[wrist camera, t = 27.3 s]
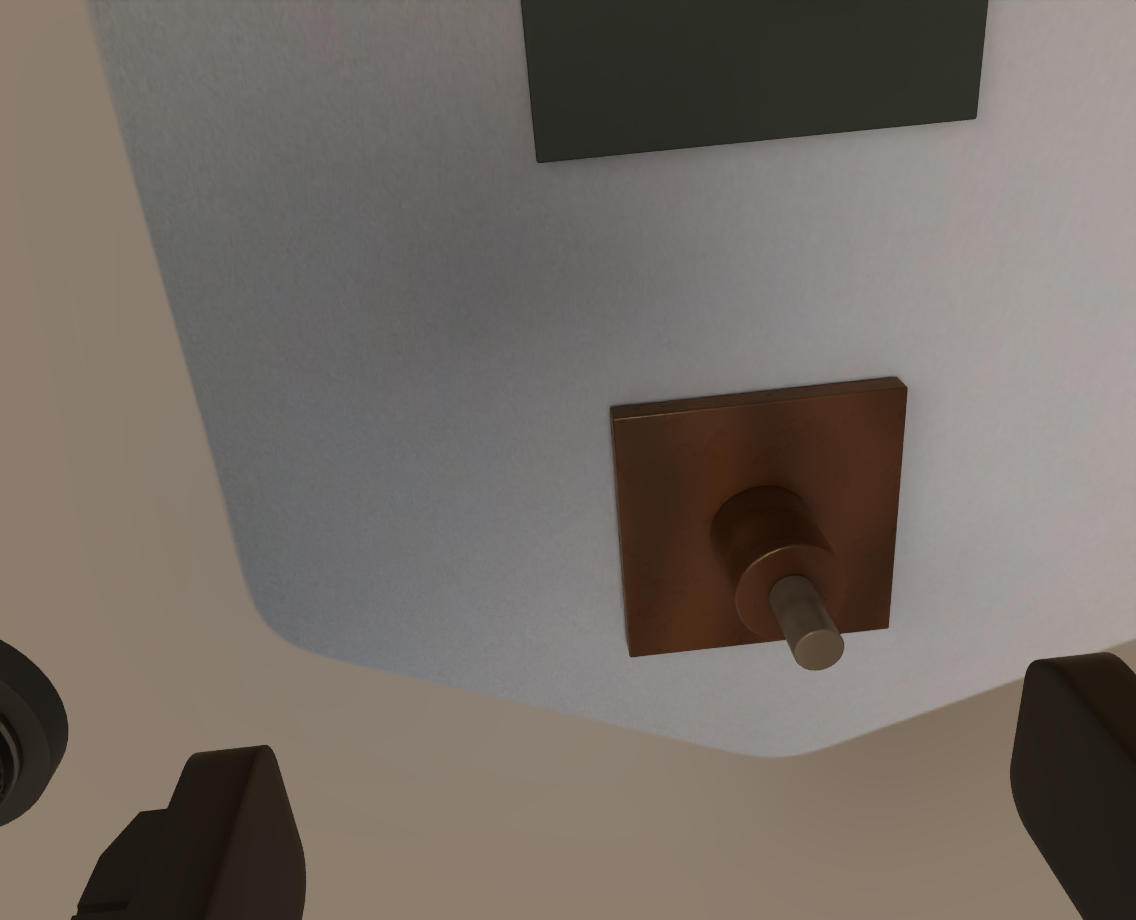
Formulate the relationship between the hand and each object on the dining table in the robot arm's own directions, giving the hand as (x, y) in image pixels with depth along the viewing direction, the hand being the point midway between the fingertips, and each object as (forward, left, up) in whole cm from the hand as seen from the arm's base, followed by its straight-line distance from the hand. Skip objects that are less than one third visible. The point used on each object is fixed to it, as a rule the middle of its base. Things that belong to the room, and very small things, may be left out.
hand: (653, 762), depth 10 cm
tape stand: (+8, -14, -28) cm, 32 cm away
